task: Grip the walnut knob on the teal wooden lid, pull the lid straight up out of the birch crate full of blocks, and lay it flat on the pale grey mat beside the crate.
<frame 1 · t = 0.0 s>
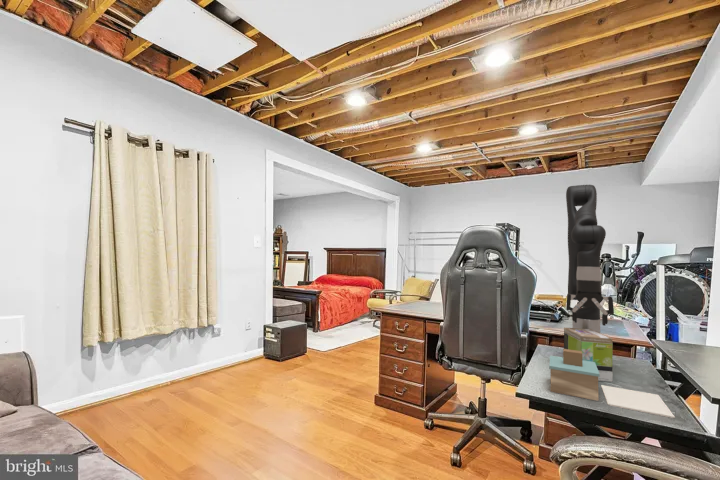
hand: (589, 323, 121), 17 cm above the table, tool pointing down, fingers open, 8 cm apart
tea box: (586, 373, 119), on the table
crate: (572, 389, 104), on the table
lid: (572, 369, 104), point 6 cm above the table, touching crate
mat: (634, 400, 97), on the table
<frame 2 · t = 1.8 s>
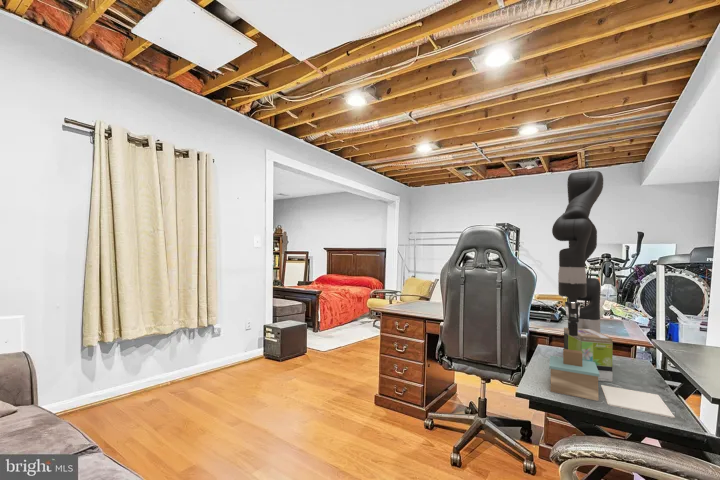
hand: (572, 333, 105), 17 cm above the table, tool pointing down, fingers open, 8 cm apart
nothing on the table moved.
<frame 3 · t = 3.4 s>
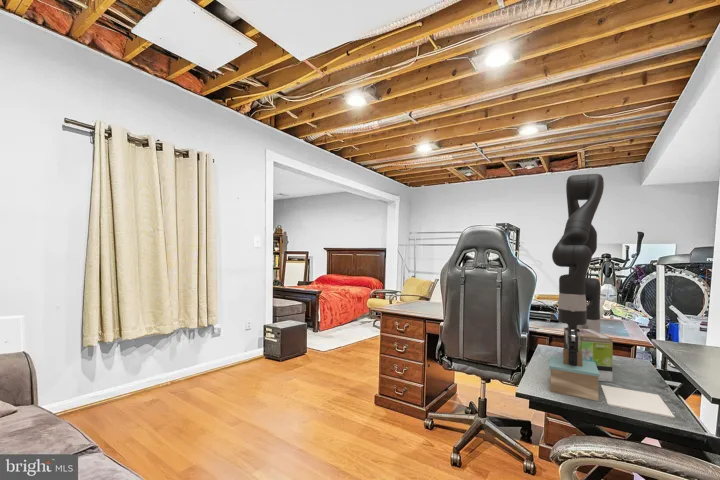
hand: (572, 362, 105), 8 cm above the table, tool pointing down, fingers closed on lid, 3 cm apart
lid: (572, 369, 104), point 6 cm above the table, touching crate, gripper
everything else where it was.
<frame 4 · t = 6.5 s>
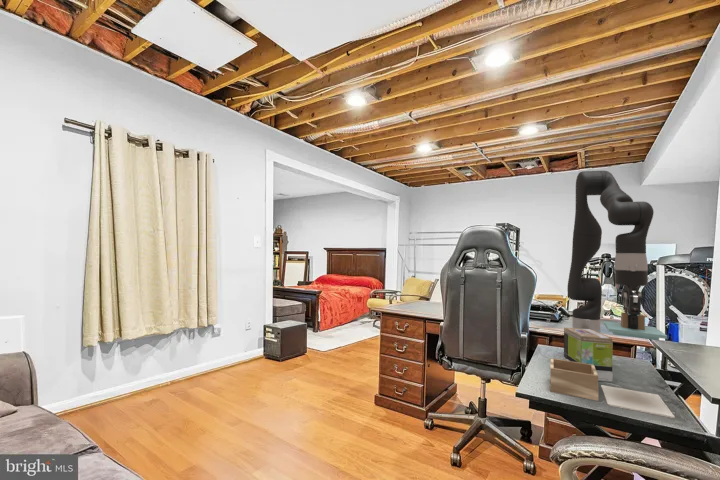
hand: (631, 327, 98), 21 cm above the table, tool pointing down, fingers closed on lid, 3 cm apart
lid: (632, 334, 97), point 19 cm above the table, touching gripper
everything else where it was.
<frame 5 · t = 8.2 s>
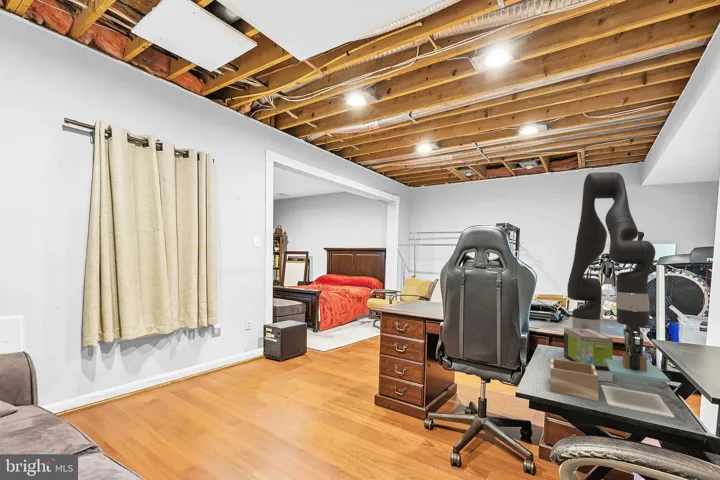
hand: (633, 367, 97), 10 cm above the table, tool pointing down, fingers closed on lid, 3 cm apart
lid: (634, 374, 97), point 7 cm above the table, touching gripper
everything else where it was.
when the fingers open (5 cm above the table, at t = 9.5 s): lid drops 2 cm, resting on mat.
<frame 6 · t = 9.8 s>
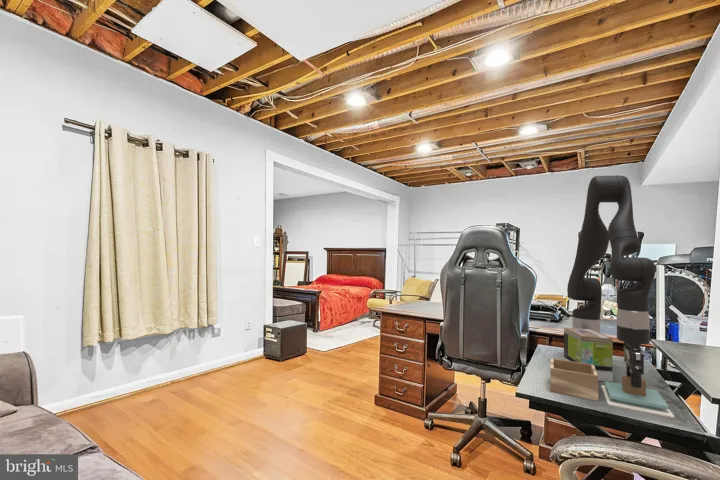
hand: (633, 383, 97), 5 cm above the table, tool pointing down, fingers open, 6 cm apart
lid: (634, 399, 97), resting on mat
everything else where it was.
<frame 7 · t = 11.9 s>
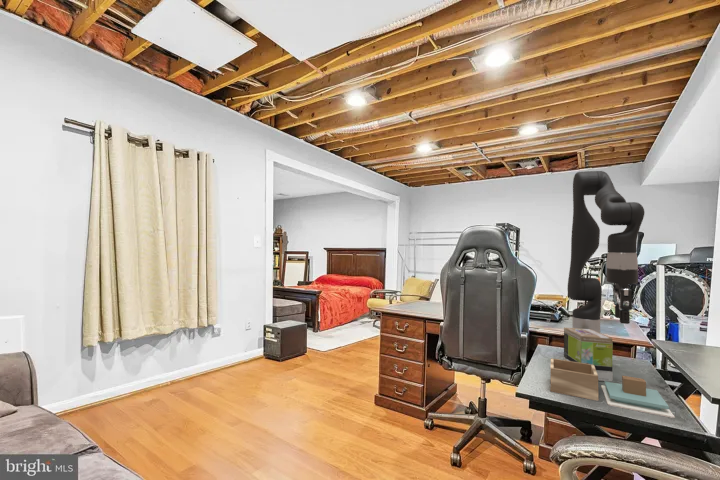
hand: (621, 320, 101), 22 cm above the table, tool pointing down, fingers open, 8 cm apart
nothing on the table moved.
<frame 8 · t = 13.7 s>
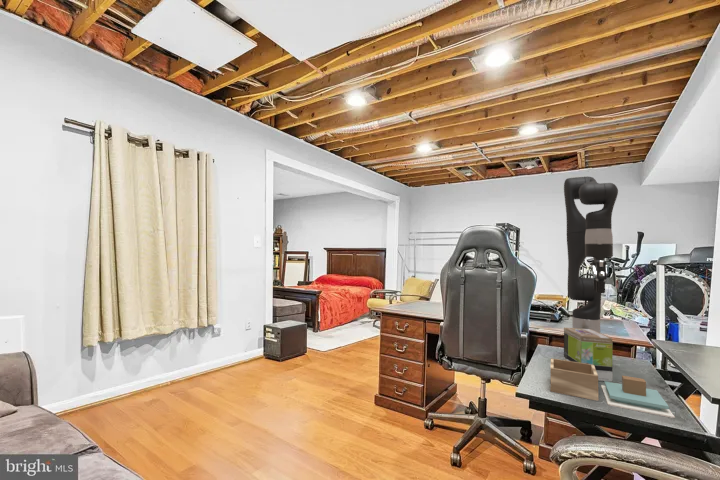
hand: (599, 291, 110), 30 cm above the table, tool pointing down, fingers open, 8 cm apart
nothing on the table moved.
at the end: lid inside the target area on the mat (0.1 cm from its centre), point 0.4 cm above the mat's base; lid tilted 0°; the gripper is holding nothing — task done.
